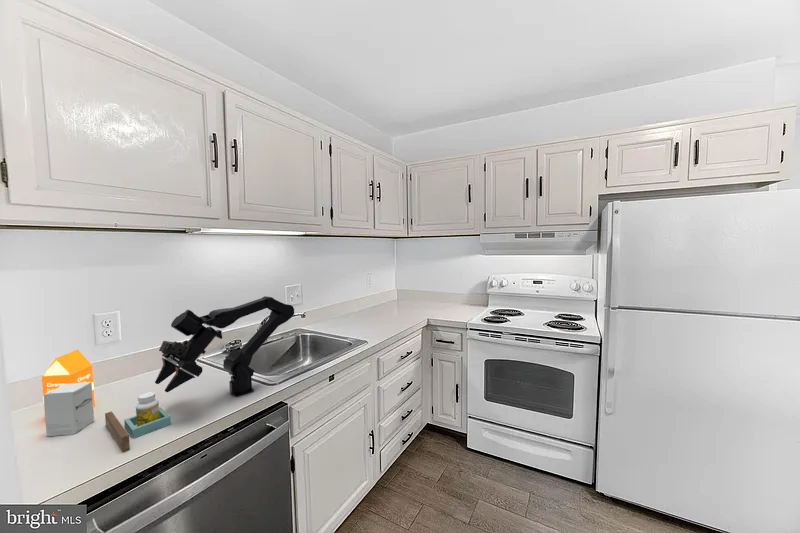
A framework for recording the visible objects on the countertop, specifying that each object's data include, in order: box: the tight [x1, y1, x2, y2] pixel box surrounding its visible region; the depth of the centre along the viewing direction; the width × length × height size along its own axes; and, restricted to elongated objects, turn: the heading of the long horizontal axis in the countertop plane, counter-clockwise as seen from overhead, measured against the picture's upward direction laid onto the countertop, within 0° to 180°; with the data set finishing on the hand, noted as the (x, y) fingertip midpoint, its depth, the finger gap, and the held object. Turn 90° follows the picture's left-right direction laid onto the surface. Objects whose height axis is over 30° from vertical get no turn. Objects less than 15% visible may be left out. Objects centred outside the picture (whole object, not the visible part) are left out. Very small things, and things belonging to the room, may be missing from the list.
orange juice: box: [41, 349, 96, 413], centre depth 102 cm, size 8×9×20 cm
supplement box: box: [43, 382, 95, 437], centre depth 94 cm, size 7×7×13 cm
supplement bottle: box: [135, 391, 160, 427], centre depth 95 cm, size 5×5×10 cm
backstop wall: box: [104, 411, 131, 453], centre depth 90 cm, size 2×20×4 cm, turn 52°
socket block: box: [123, 406, 172, 439], centre depth 95 cm, size 9×9×2 cm
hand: (160, 387), depth 98 cm, fingers open, 9 cm apart
